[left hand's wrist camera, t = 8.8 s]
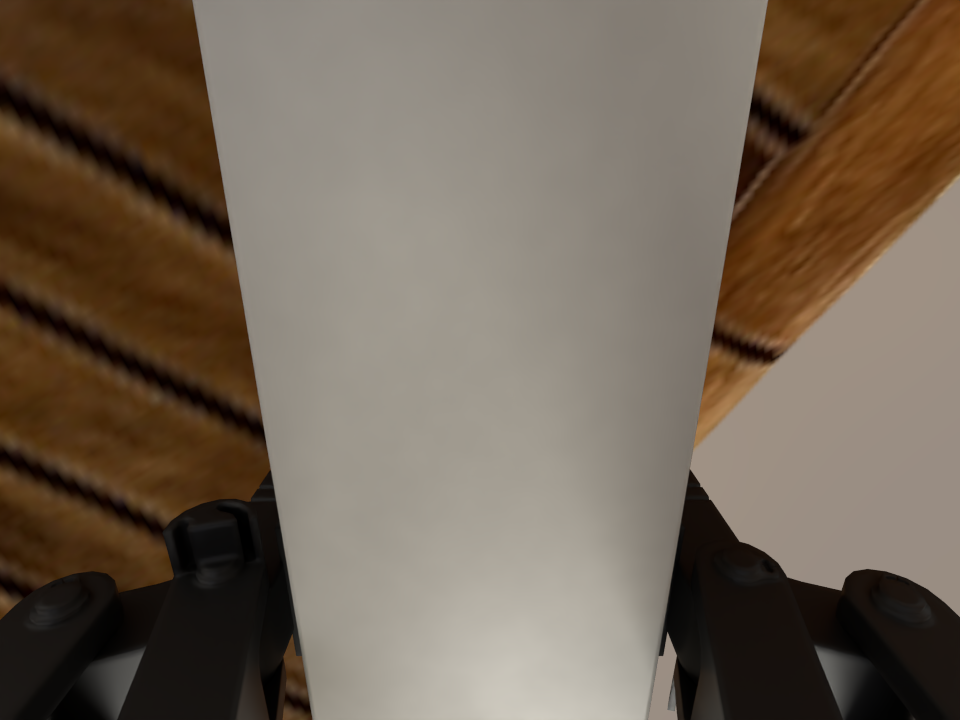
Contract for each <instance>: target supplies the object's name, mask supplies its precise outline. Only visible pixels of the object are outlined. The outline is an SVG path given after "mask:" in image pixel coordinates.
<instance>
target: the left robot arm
mask: <svg viewBox="0 0 960 720" xmlns="http://www.w3.org/2000/svg"><path fill="white" fill-rule="evenodd" d="M163 535H164V539H165V543H166V546H167V550H168V554H169V558H170V561H171V565H172V569H173V573H174V577H173V580H170V581H166V582H163V583H160V584H156V585H151V586H147V587H142V588H138V589H134V590H129V591H125V592H121V593H118V589H117V586H116V583H115V580H114V579H112V578H111V577H110V576H109V575H108V574H106V573H100V572H94V571H92V572H84V573H77V574H72V575H69V576H66V577H63V578H60V579H57V580H54V581H52V582H50V583H48V584H47V585H45V586H43V587H41V588H39V589H37V590H35V591H33V592H32V593H31V594H29V595H28V596H27V597H26V598H24V599H23V600H22V601H20V602H19V603H18V604H17V605H15V606H14V607H13V608H12V609H11V610H10V611H9V612H8V613H7V614H6V615H5V616H4V617H3V618H2V619H1V620H0V720H282V719H283V709H284V699H285V689H286V679H287V678H286V670H285V664H284V659H283V656H284V653H285V651H286V648H287V646H288V643H289V641H290V638H291V636H292V633H293V639H294V645H295V650H296V656H302V652H301V646H300V640H299V634H298V628H297V622H296V616H295V610H294V604H293V598H292V592H291V586H290V580H289V574H288V568H287V562H286V556H285V550H284V544H283V538H282V532H281V526H280V520H279V514H278V508H277V502H276V496H275V490H274V484H273V478H272V472H271V470H270V471H269V473H268V474H267V476H266V477H265V479H264V480H263V482H262V483H261V485H260V488H259V489H257V491H256V492H255V494H254V495H253V496H252V498H251V502H246V501H242V500H238V499H220V500H215V501H211V502H207V503H203V504H200V505H198V506H196V507H193V508H191V509H189V510H186V511H185V512H183V513H182V514H180V515H179V516H178V517H176V518H175V519H173V520H172V521H171V522H170V523H169V525H168V526H167V527H166V528H165V530H164V531H163ZM667 632H668V634H669V636H670V639H671V642H672V644H673V647H674V649H675V652H676V654H677V659H676V664H675V669H674V675H673V680H672V686H671V691H670V697H669V703H668V710H671V711H675V706H676V707H677V717H678V720H960V617H959V616H958V615H957V614H956V613H955V612H954V611H953V610H952V609H951V608H950V607H949V606H948V605H947V604H946V603H944V602H943V601H942V600H941V599H939V598H938V597H937V596H935V595H934V594H933V593H931V592H930V591H929V590H928V589H926V588H924V587H922V586H920V585H918V584H916V583H914V582H913V581H911V580H909V579H907V578H904V577H901V576H898V575H895V574H892V573H889V572H886V571H878V570H871V569H865V570H859V571H853V572H852V573H851V574H850V575H849V576H847V577H846V579H845V582H844V585H843V588H842V591H840V590H836V589H831V588H827V587H823V586H818V585H814V584H809V583H805V582H801V581H798V580H794V579H791V578H787V576H786V574H785V573H784V571H783V570H782V568H781V567H780V565H779V564H778V563H777V562H776V561H775V560H774V559H772V558H771V557H770V556H769V555H767V554H766V553H765V552H763V551H761V550H759V549H757V548H755V547H753V546H751V545H749V544H746V543H742V542H739V540H738V539H737V537H736V536H735V534H734V533H733V532H732V530H731V529H730V527H729V526H728V524H727V523H726V521H725V520H724V518H723V517H722V515H721V514H720V512H719V511H718V510H717V508H716V507H715V505H714V504H713V502H712V501H711V500H709V497H708V495H707V493H706V492H705V490H704V489H703V488H702V487H700V483H699V482H698V480H697V479H696V477H695V476H694V474H693V473H692V471H691V470H689V476H688V482H687V488H686V494H685V500H684V506H683V512H682V518H681V524H680V530H679V536H678V542H677V548H676V554H675V560H674V566H673V572H672V578H671V584H670V590H669V596H668V602H667V608H666V614H665V620H664V626H663V632H662V638H661V644H660V650H659V656H663V654H664V648H665V642H666V636H667Z"/></svg>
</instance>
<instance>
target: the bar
mask: <svg viewBox="0 0 960 720" xmlns="http://www.w3.org/2000/svg"><path fill="white" fill-rule="evenodd" d="M767 3H768V0H193V6H194V12H195V18H196V24H197V30H198V36H199V42H200V48H201V54H202V60H203V66H204V72H205V78H206V84H207V90H208V96H209V102H210V108H211V114H212V120H213V126H214V132H215V137H216V143H217V149H218V155H219V161H220V167H221V173H222V179H223V185H224V191H225V197H226V203H227V209H228V215H229V221H230V227H231V233H232V239H233V245H234V251H235V257H236V263H237V269H238V275H239V281H240V287H241V293H242V299H243V305H244V311H245V317H246V323H247V329H248V335H249V341H250V347H251V353H252V359H253V365H254V371H255V377H256V383H257V389H258V395H259V401H260V407H261V413H262V419H263V425H264V431H265V436H266V442H267V448H268V454H269V460H270V466H271V472H272V478H273V484H274V490H275V496H276V502H277V508H278V514H279V520H280V526H281V532H282V538H283V544H284V550H285V556H286V562H287V568H288V574H289V580H290V586H291V592H292V598H293V604H294V610H295V616H296V622H297V628H298V634H299V640H300V646H301V652H302V658H303V664H304V670H305V676H306V682H307V688H308V694H309V700H310V706H311V712H312V718H313V720H648V716H649V710H650V704H651V698H652V692H653V686H654V680H655V674H656V668H657V662H658V656H659V650H660V644H661V638H662V632H663V626H664V620H665V614H666V608H667V602H668V596H669V590H670V584H671V578H672V572H673V566H674V560H675V554H676V548H677V542H678V536H679V530H680V524H681V518H682V512H683V506H684V500H685V494H686V488H687V482H688V476H689V470H690V464H691V458H692V452H693V446H694V440H695V434H696V428H697V422H698V416H699V410H700V404H701V398H702V392H703V386H704V380H705V374H706V368H707V362H708V356H709V350H710V344H711V338H712V332H713V326H714V320H715V314H716V308H717V302H718V296H719V290H720V284H721V278H722V272H723V266H724V260H725V254H726V248H727V242H728V236H729V230H730V224H731V218H732V212H733V206H734V200H735V194H736V188H737V182H738V176H739V170H740V164H741V158H742V152H743V146H744V140H745V134H746V128H747V122H748V116H749V110H750V104H751V98H752V92H753V86H754V80H755V74H756V68H757V62H758V56H759V50H760V44H761V38H762V32H763V26H764V21H765V15H766V9H767Z"/></svg>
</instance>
